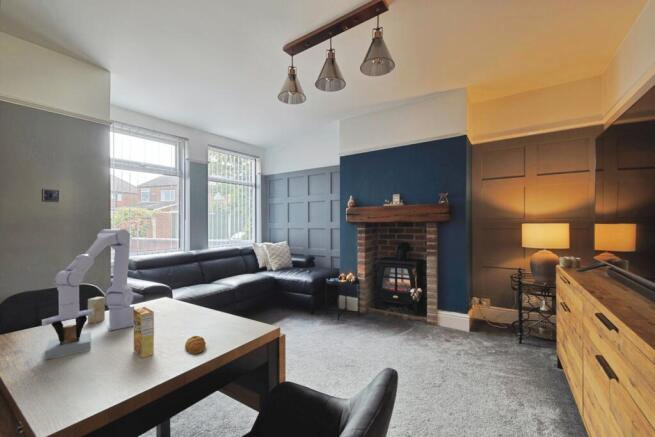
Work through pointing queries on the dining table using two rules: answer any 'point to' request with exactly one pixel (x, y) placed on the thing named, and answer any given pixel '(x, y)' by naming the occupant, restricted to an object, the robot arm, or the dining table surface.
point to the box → (96, 309)
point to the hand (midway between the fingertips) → (69, 339)
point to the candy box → (143, 332)
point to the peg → (69, 334)
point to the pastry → (195, 344)
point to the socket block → (68, 346)
